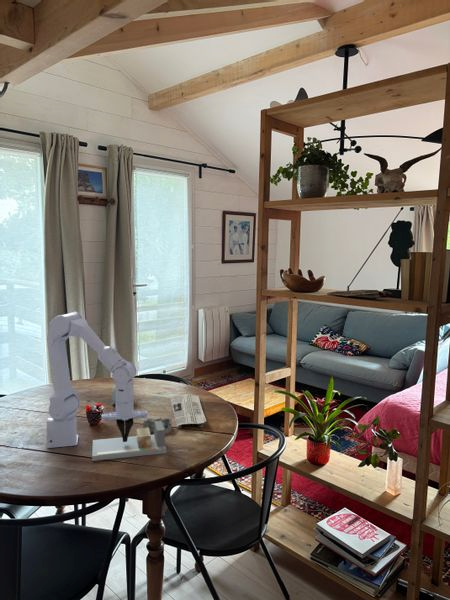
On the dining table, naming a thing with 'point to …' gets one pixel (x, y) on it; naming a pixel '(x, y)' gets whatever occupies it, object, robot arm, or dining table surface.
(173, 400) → the newspaper
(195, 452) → the dining table surface
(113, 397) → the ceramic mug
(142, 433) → the beige block with peg
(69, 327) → the robot arm
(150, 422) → the egg carton
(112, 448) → the gauge bed
